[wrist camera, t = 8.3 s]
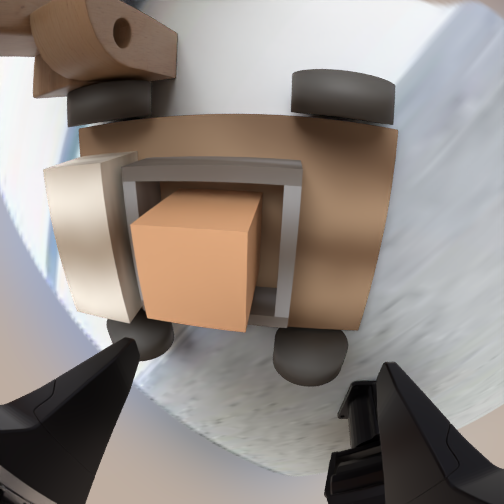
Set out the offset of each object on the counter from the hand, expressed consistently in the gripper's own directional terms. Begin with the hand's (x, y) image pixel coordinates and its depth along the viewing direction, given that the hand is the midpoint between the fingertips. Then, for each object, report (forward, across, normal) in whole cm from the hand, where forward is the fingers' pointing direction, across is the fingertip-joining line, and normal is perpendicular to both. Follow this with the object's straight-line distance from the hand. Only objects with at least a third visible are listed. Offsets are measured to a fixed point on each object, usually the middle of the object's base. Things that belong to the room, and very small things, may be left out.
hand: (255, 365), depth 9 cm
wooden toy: (+11, +9, -18) cm, 23 cm away
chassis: (+11, +3, -1) cm, 11 cm away
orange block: (+9, +3, -1) cm, 10 cm away
